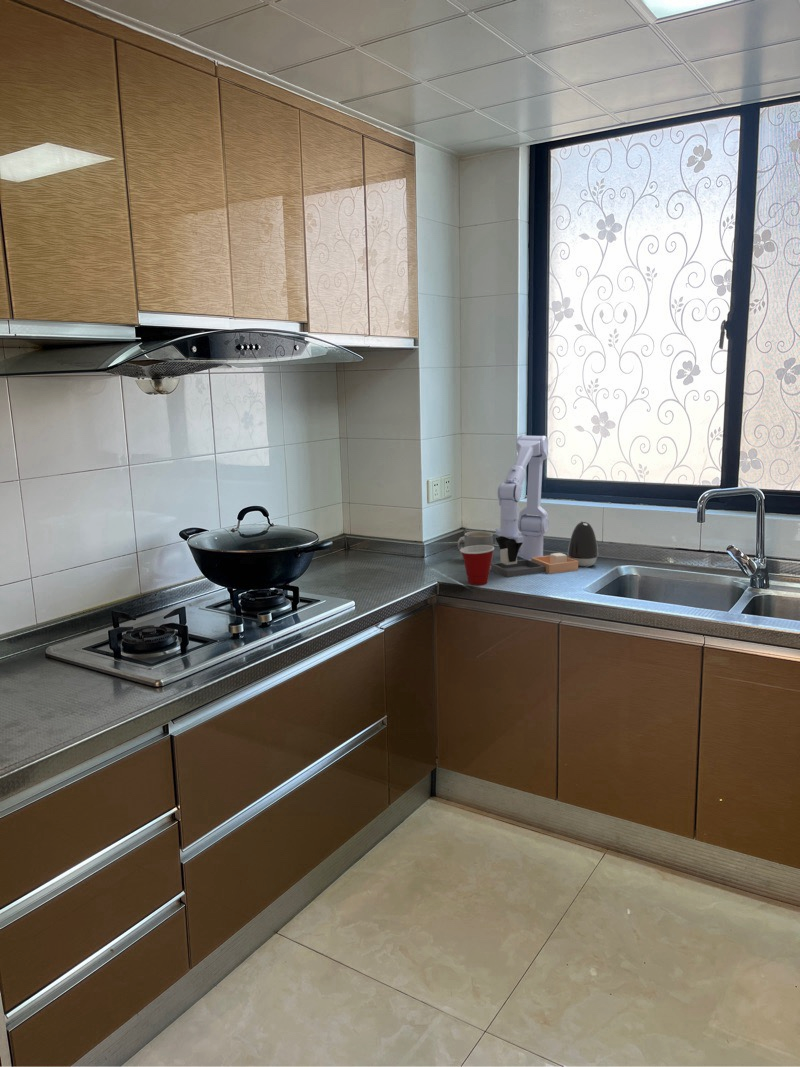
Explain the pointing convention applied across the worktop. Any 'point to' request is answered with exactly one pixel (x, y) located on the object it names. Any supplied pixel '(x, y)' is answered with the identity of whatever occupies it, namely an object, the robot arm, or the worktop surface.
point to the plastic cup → (477, 563)
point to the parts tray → (518, 568)
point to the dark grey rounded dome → (583, 545)
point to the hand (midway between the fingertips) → (508, 559)
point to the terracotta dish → (558, 567)
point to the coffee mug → (476, 539)
